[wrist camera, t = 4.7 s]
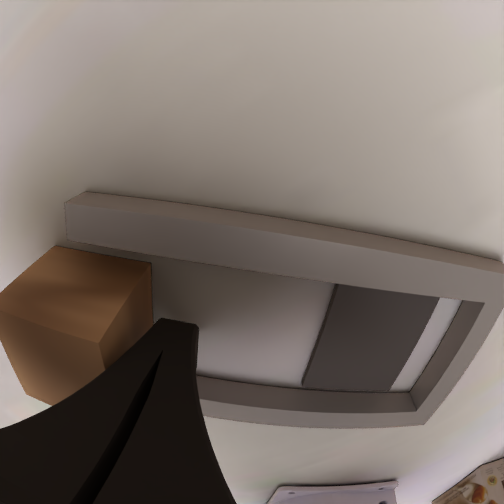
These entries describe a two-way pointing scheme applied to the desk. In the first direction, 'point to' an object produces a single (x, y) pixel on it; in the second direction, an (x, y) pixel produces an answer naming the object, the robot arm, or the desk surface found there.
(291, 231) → the guide channel
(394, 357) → the pad
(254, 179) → the desk surface
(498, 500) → the coffee box
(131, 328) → the walnut block
